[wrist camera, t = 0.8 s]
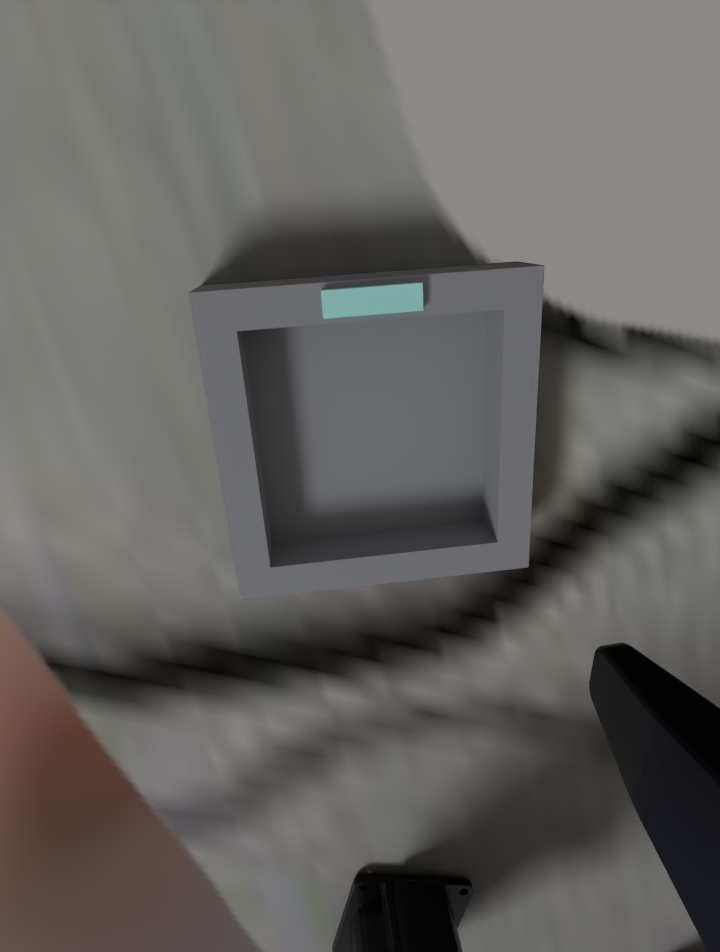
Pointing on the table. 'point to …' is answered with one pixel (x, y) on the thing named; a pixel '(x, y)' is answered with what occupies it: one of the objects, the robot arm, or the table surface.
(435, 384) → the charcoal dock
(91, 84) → the table surface
